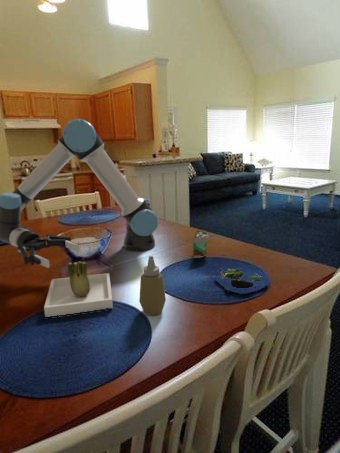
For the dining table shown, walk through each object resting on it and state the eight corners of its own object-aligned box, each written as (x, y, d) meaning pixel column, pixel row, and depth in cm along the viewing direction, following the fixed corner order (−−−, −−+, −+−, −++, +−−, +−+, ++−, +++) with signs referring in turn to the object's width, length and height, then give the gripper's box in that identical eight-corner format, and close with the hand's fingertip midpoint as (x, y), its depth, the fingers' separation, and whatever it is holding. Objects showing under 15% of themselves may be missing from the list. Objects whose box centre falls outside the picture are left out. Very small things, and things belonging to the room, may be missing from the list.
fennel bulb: (69, 296, 108) (65, 263, 104) (79, 290, 112) (76, 257, 108) (83, 300, 105) (79, 266, 102) (93, 293, 109) (90, 260, 106)
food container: (207, 261, 137) (207, 238, 134) (192, 260, 138) (193, 238, 135) (209, 250, 149) (210, 230, 146) (196, 250, 150) (196, 229, 147)
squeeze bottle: (139, 304, 103) (137, 252, 98) (165, 303, 104) (163, 251, 99) (139, 319, 96) (137, 262, 91) (167, 317, 96) (165, 261, 91)
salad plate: (201, 277, 123) (201, 266, 122) (239, 268, 130) (240, 257, 129) (232, 299, 106) (232, 287, 105) (274, 288, 114) (275, 276, 112)
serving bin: (109, 281, 120) (109, 273, 119) (112, 309, 101) (112, 299, 100) (53, 288, 116) (51, 279, 115) (45, 318, 97) (43, 307, 96)
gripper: (52, 237, 135) (90, 251, 125) (-4, 261, 115) (35, 281, 105) (50, 220, 132) (89, 234, 122) (-8, 243, 112) (32, 261, 102)
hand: (64, 256), depth 114 cm, fingers open, 13 cm apart
